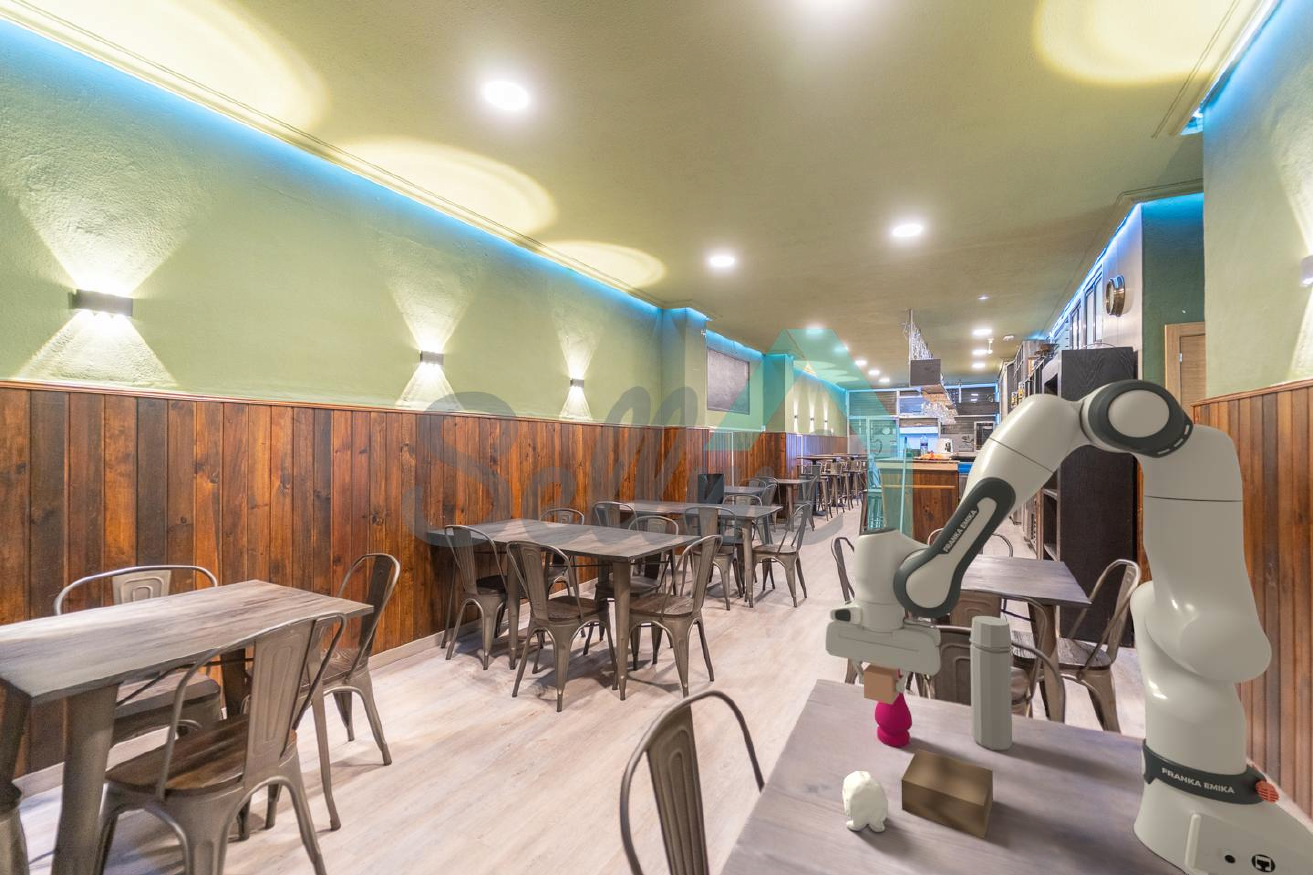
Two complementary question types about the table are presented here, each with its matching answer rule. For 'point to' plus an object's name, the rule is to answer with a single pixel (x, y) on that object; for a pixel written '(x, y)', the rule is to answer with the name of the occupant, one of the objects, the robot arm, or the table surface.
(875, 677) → the terracotta cube
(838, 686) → the table surface
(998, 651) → the water bottle
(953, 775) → the walnut stand
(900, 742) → the pepper mill
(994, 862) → the table surface
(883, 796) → the penguin figurine
